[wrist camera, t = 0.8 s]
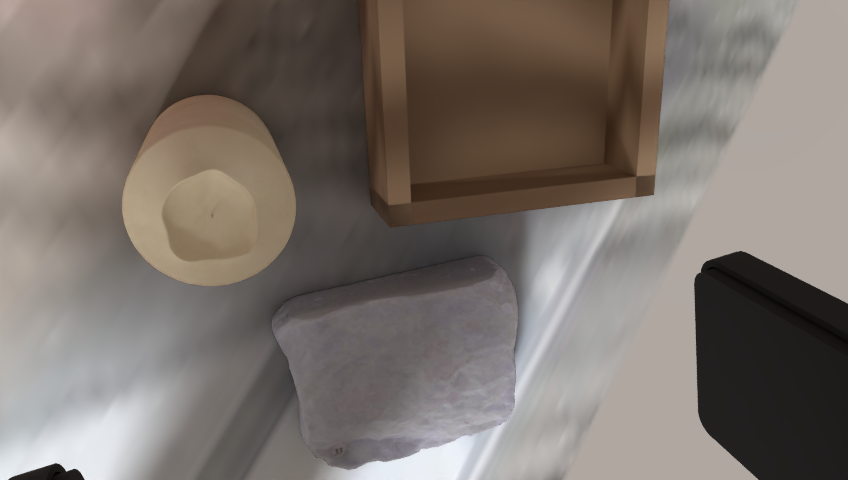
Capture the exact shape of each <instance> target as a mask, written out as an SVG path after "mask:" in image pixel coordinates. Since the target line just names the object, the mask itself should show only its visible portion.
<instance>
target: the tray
mask: <svg viewBox="0 0 848 480" xmlns="http://www.w3.org/2000/svg"><path fill="white" fill-rule="evenodd" d="M358 3H359V19H360V35H361V51H362V67H363V83H364V99H365V114H366V130H367V146H368V162H369V178H370V194H371V205H372V206H373V207H374V208H375V210H376V211H377V212H378V213H379V215H380V216H381V217H382V219H383V220H384V221H385V222H386V224H387V225H388V226H389V227H398V226H406V225H414V224H422V223H430V222H438V221H447V220H455V219H463V218H471V217H479V216H487V215H495V214H503V213H511V212H519V211H527V210H535V209H543V208H552V207H560V206H568V205H576V204H584V203H592V202H600V201H608V200H616V199H624V198H632V197H640V196H648V195H654V186H655V174H656V161H657V148H658V135H659V123H660V110H661V97H662V85H663V72H664V59H665V46H666V34H667V21H668V8H669V0H358Z"/></svg>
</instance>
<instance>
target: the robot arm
mask: <svg viewBox="0 0 848 480" xmlns="http://www.w3.org/2000/svg"><path fill="white" fill-rule="evenodd" d="M694 287H695V288H694V289H695V321H696V356H697V389H698V413H699V418H700V421H701V423H702V425H703V427H704V428H705V430H706V431H707V433H708V434H709V435H710V436H711V437H712V438H713V439H715V440H716V441H717V442H718V443H719V444H720V445H721V446H722V447H723V448H724V449H726V450H727V451H728V452H729V453H730V454H731V455H732V456H733V457H734V458H736V459H737V460H738V461H739V462H740V463H741V464H742V465H743V466H744V467H745V468H746V469H748V470H749V471H750V472H751V473H752V474H753V475H754V476H755V477H756V478H758V479H759V480H848V304H847V303H845V302H843V301H841V300H840V299H838V298H836V297H833V296H831V295H830V294H828V293H826V292H823V291H821V290H820V289H818V288H816V287H814V286H812V285H810V284H808V283H806V282H804V281H802V280H800V279H798V278H796V277H794V276H792V275H790V274H788V273H786V272H784V271H782V270H780V269H778V268H776V267H774V266H772V265H770V264H768V263H766V262H764V261H762V260H760V259H758V258H756V257H754V256H752V255H750V254H748V253H746V252H742V251H739V252H734V253H731V254H728V255H725V256H721V257H718V258H715V259H712V260H709V261H706V262H705V263H704V264H703V266H702V269H701V273H699V274H697V276H696V278H695V283H694ZM9 480H84V478H83V476H82V474H81V473H80V472H79V471H78V470H77V469H73V470H70V471H67V472H66V471H65V469H64V468H63V467H62V466H61V465H60V464H56V463H55V464H52V465H49V466H46V467H43V468H39V469H36V470H33V471H30V472H26V473H23V474H20V475H17V476H14V477H12V478H10V479H9Z"/></svg>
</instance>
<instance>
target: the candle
mask: <svg viewBox="0 0 848 480" xmlns="http://www.w3.org/2000/svg"><path fill="white" fill-rule="evenodd" d="M122 214H123V219H124V224H125V227H126V230H127V233H128V235H129V237H130V239H131V241H132V243H133V245H134V246H135V248H136V249H137V251H138V252H139V253H140V254H141V255H142V257H143V258H144V259H145V260H146V261H147V262H148V263H149V264H151V265H152V266H153V267H154V268H156V269H157V270H159V271H160V272H162V273H163V274H165V275H167V276H169V277H171V278H173V279H176V280H178V281H181V282H184V283H188V284H193V285H200V286H221V285H228V284H232V283H236V282H240V281H242V280H245V279H247V278H250V277H251V276H253V275H255V274H257V273H259V272H260V271H262V270H263V269H265V268H266V267H267V266H268V265H269V264H271V263H272V262H273V261H274V260H275V259H276V258H277V256H278V255H279V254H280V253H281V252H282V250H283V249H284V247H285V246H286V244H287V242H288V240H289V238H290V236H291V233H292V230H293V227H294V223H295V218H296V196H295V191H294V187H293V183H292V181H291V178H290V175H289V173H288V171H287V169H286V167H285V164H284V162H283V160H282V158H281V156H280V153H279V151H278V149H277V147H276V145H275V143H274V140H273V138H272V136H271V134H270V132H269V131H268V129H267V127H266V126H265V124H264V123H263V121H262V120H261V119H260V118H259V117H258V116H257V115H256V114H255V113H254V112H253V111H252V110H251V109H249V108H248V107H246V106H245V105H243V104H242V103H240V102H237V101H235V100H233V99H230V98H227V97H223V96H218V95H198V96H192V97H189V98H186V99H183V100H180V101H178V102H176V103H174V104H173V105H171V106H170V107H168V108H167V109H166V110H165V111H164V112H162V113H161V114H160V115H159V117H158V118H157V119H156V120H155V122H154V123H153V125H152V127H151V128H150V130H149V132H148V134H147V136H146V138H145V140H144V142H143V144H142V146H141V148H140V151H139V153H138V155H137V157H136V159H135V161H134V163H133V165H132V168H131V170H130V172H129V174H128V177H127V179H126V182H125V186H124V189H123V196H122Z"/></svg>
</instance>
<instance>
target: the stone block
mask: <svg viewBox="0 0 848 480" xmlns="http://www.w3.org/2000/svg"><path fill="white" fill-rule="evenodd" d="M517 326H518V306H517V300H516V292H515V289H514V287H513V285H512V283H511V282H510V280H509V278H508V276H507V274H506V272H505V270H504V269H503V268H502V267H501V266H499V265H497V264H496V263H495V262H494V261H493V260H491V259H490V258H487V257H485V256H474V257H468V258H463V259H458V260H454V261H450V262H445V263H441V264H437V265H433V266H429V267H424V268H420V269H415V270H411V271H407V272H402V273H398V274H393V275H389V276H385V277H381V278H376V279H371V280H366V281H362V282H358V283H354V284H351V285H349V286H340V287H335V288H331V289H326V290H322V291H318V292H311V293H309V294H305V295H299V296H296V297H293V298H291V299H289V300H287V301H286V302H285V303H284V304H283V305H282V306H281V307H280V309H279V310H278V311H277V312H276V313H275V314H274V315H273V318H272V331H273V334H274V336H275V339H276V340H277V342H278V344H279V345H280V347H281V349H282V351H283V353H284V354H285V355H286V356H287V358H288V362H289V369H290V371H291V374H292V377H293V379H294V384H295V387H296V391H297V397H298V403H299V423H300V430H301V435H302V437H303V439H304V440H305V442H306V444H307V446H308V447H309V449H310V451H311V452H312V453H313V454H314V456H315V457H317V458H322V459H323V460H325V461H326V462H327V464H328V465H330V466H334V467H340V468H344V469H347V470H349V469H355V468H357V467H359V466H361V465H364V464H366V463H368V462H372V461H383V462H387V461H392V460H396V459H400V458H404V457H407V456H410V455H412V454H414V453H417V452H419V451H420V450H421V449H428V448H432V447H438V446H441V445H443V444H446V443H449V442H452V441H454V440H456V439H458V438H459V437H461V436H465V435H467V436H472V435H474V434H476V433H479V432H482V431H485V430H488V429H490V428H493V427H495V426H498V425H501V424H502V423H503V422H506V421H507V420H508V419H509V416H510V415H511V414H512V411H513V408H514V404H515V399H514V392H515V381H516V369H515V368H516V366H515V359H514V346H515V341H516V334H517Z"/></svg>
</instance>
